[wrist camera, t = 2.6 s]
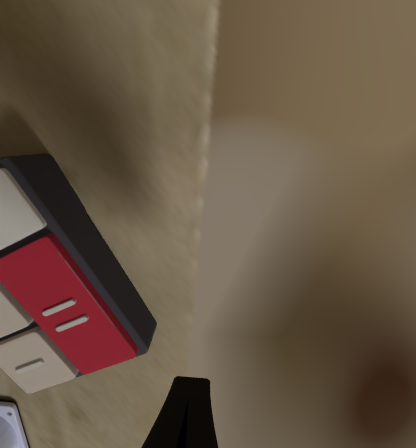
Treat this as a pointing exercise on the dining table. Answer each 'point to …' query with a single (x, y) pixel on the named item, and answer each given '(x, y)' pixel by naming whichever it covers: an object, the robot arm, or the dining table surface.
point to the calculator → (59, 283)
